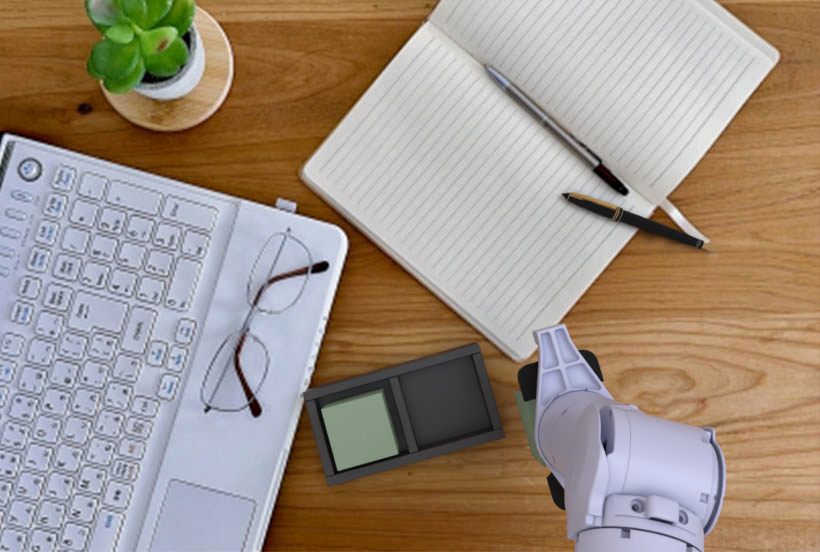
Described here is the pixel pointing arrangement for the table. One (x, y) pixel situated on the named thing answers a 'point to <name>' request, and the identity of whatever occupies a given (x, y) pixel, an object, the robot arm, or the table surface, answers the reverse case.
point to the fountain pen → (634, 220)
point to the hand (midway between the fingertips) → (556, 417)
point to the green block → (529, 423)
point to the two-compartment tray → (403, 414)
